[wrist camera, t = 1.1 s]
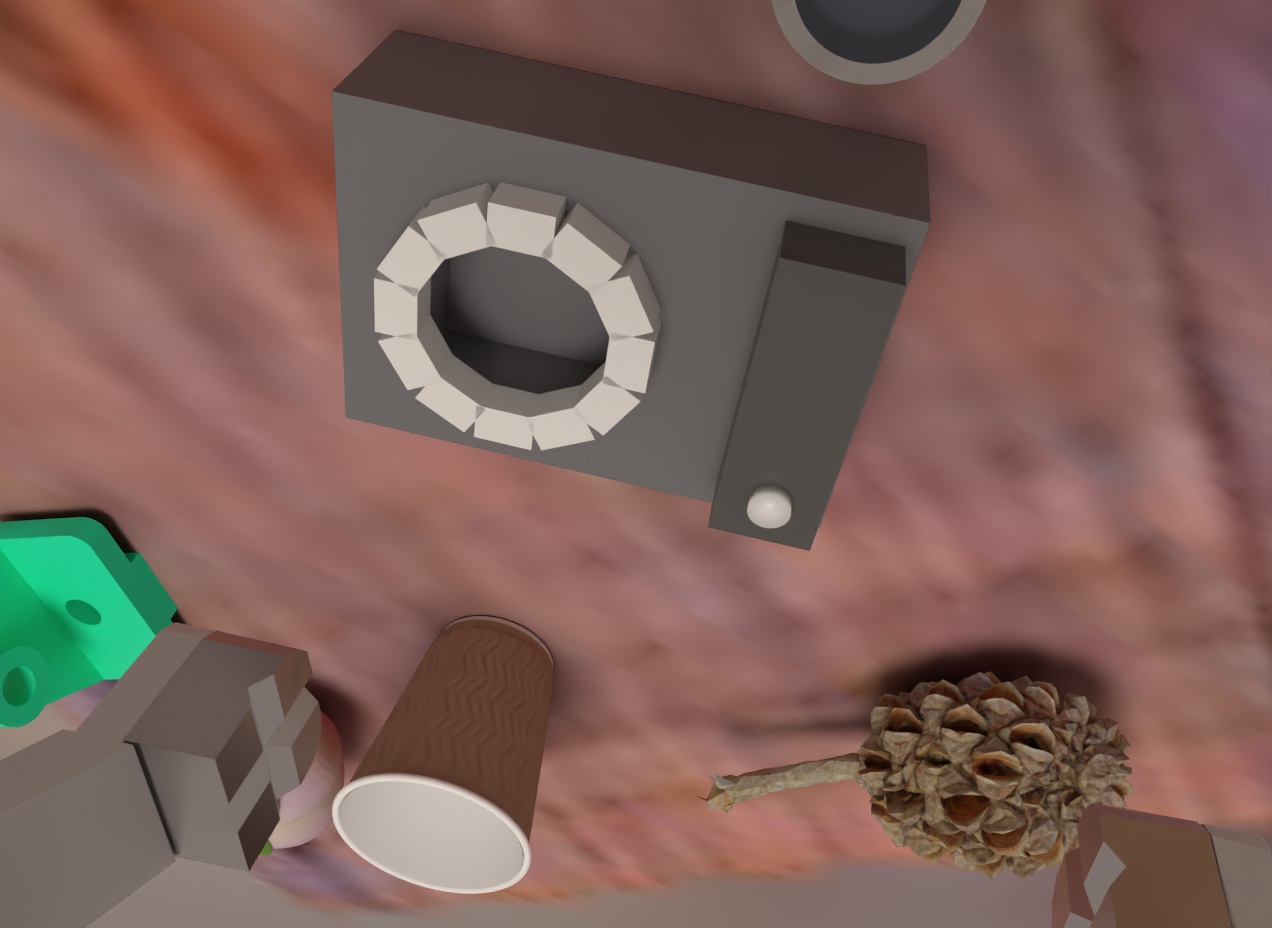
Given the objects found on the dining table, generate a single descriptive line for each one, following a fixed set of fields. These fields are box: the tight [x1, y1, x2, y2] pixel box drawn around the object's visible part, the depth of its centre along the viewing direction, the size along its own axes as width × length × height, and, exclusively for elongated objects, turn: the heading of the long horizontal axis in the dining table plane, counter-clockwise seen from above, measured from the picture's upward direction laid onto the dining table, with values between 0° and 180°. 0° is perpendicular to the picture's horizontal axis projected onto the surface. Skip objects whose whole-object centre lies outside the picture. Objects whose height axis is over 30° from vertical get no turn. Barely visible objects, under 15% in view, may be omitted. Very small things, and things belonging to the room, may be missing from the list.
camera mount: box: [0, 517, 178, 727], centre depth 62 cm, size 12×8×10 cm, turn 13°
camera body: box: [332, 30, 930, 551], centre depth 41 cm, size 14×20×9 cm
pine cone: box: [696, 671, 1132, 879], centre depth 56 cm, size 22×10×10 cm, turn 117°
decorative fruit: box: [259, 711, 344, 856], centre depth 66 cm, size 9×8×10 cm
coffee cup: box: [332, 616, 554, 894], centre depth 58 cm, size 10×10×12 cm
